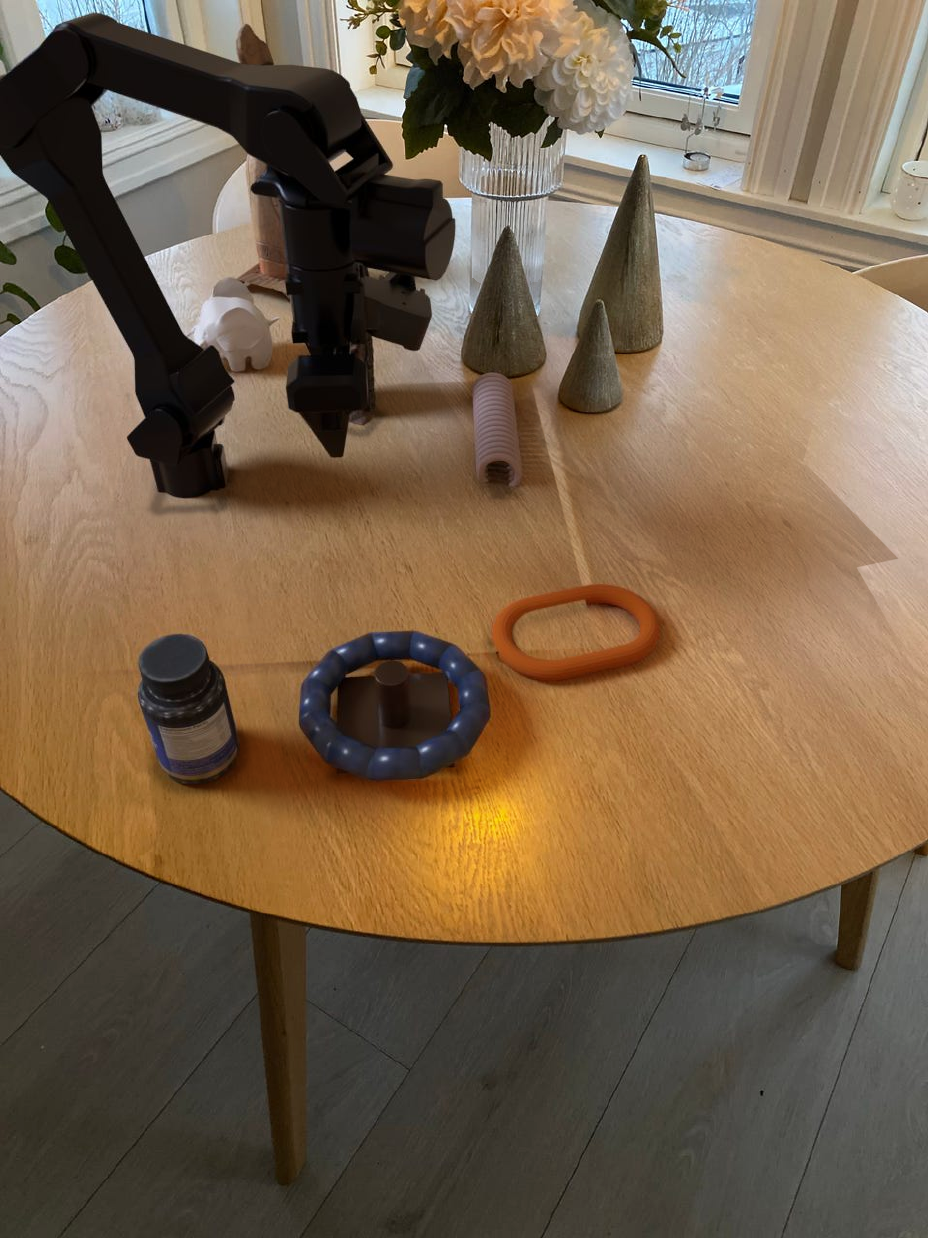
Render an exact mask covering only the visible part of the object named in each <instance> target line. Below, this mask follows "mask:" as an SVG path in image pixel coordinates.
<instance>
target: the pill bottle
mask: <svg viewBox="0 0 928 1238" xmlns="http://www.w3.org/2000/svg"><path fill="white" fill-rule="evenodd" d="M137 664H138V669H139V672H140V677H141V680H140V682H139V684H138V689H137V700H138V703H139V706H140V709H141V712H142V715H143V718H144V722H145V725H146V727H147V730H148V733H149V736H150V739H151V742H152V745H153V748H154V752H155V754H156V757H157V760H158V763H159V766H160V768H161V770H162V771H163V772H164V773H166V775H167V777H168V778H169V779H171V780H172V781H174V782H176V783H179V784H183V785H202V784H207V783H210V782H213V781H216V780H217V779H218V778H221V777H222V776H223V775H225V774H226V773H227V772H228V771H230V769H231V768H232V767H233V766H234V764H235V763H236V760H237V758H238V755H239V751H240V740H239V736H238V731H237V727H236V723H235V717H234V713H233V710H232V706H231V701H230V697H229V696H230V695H229V692H228V689H227V688H228V687H227V683H226V679H225V676H224V673H223V672H222V670H221V668H220V667H219V666H218V665H217V664H216V663H215V662H214V661H212V660H210V656H209V653H208V648H207V647H206V645H205V643H203V641H202V640H201V639H199V638H198V637H196V636H194V635H191V634H186V633H172V634H167V635H164V636H161V637H159V638H157V639H154V640H153V641H151V642H150V643H148V644H147V645H145V647H144V648H143V650H142V651H141V652H140V655H139V657H138V663H137Z"/></svg>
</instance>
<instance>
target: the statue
mask: <svg viewBox="0 0 928 1238" xmlns="http://www.w3.org/2000/svg"><path fill="white" fill-rule="evenodd" d="M369 272H370V271H369V268H366V267H365V266H364V276H368V277H371V276H370V273H369ZM373 341H374V339H373V336H371V335H370V334H368V333H367V344H361V345H352V346H351V354H355V355H357V356H358V357H359V358H360V359H361V360H363V361H364V362H365V363H366V364H367V377H368V407H366V408H364V409H362V410H359V411H354V412H352V413H351V414H350V418H349V423H352V424H354V425H357V426H364V425H365V424H366V423H367V421H369V419H370V418H371V416H372V415H373V414H374V412H376V411H377V410H376V409H378V404H377V402H376V401H377V396H376V392H375V390H376V389H375V383H376V382H375V381H376V380H375V365H374V363H375V358H374V353H375V351H374V345H373V343H374V342H373Z"/></svg>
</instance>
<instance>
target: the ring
mask: <svg viewBox="0 0 928 1238" xmlns="http://www.w3.org/2000/svg"><path fill="white" fill-rule="evenodd" d="M390 660H394V661H406V660H410V661H414V662H417V663H419V664H422V665H425V666H428V667H431V668H432V669H436V670H439V671H440V672H443V673H444V675H445V676H446V677H447V678H448V681H450V682H451V683H452V684H453V686H454V687H455V688H456V689H457V698H458V707H459V710H458V711H457V712H456V714H455V716H454V717H453V719H452V722H451V724H450V725H449V727H448V728H447V730H446V731H445V732H443V733H441V734H439V735H437V736H435V737H433V738H431V739H429V740H427V741H425V742H423V743H421V744H419V745H418V746H416V747H397V748H378V749H377V748H375V747H372V746H370V745H367V744H365V743H362V742H360V741H357V740H354V739H352V738H349V737H347V736H345V734H344V733H343V732H342V730H341V729H340V728H339V727H338V725H337V722H336V721H335V720H334V719H333V717H332V715H331V711H332V709H331V708H332V694H333V693H334V692H335V691H336V689H338V685H339V684H340V683H341V682H342V680H343V679H344V678H345V677H347V675H349V674H352V673H353V672H355V671H358V670H360V669H362V668H365V667H367V666H368V665H370V664H373V663H376V662H385V661H390ZM299 693H300V694H299V710H298V726H299V729H300V731H301V732H302V733H303V735H304V737H305V738H306V739H307V740H308V742H309V743H310V744H311V746H312V748H313V749H314V750H315V751H316V753H317V754H318V755H319V757H320V758H321V759H322V760H323V762H324V763H325V764H327V765H330V766H332V767H333V768H335V769H336V768H339V769H341V770H344V771H346V772H349V773H348V774H352V775H353V776H357V777H359V778H361V779H363V780H366V781H368V782H376V783H377V782H378V783H379V782H393V781H394V782H397V781H409V780H410V781H412V780H413V781H414V780H423V779H427V778H428V777H430V776H432V775H434V774H437V773H438V772H440V771H442V770H444V769H446V768H445V767H447V766H449V765H451V764H453V763H455V764H456V763H457V762H458V761H461V760H462V759H464V758H466V757H468V756H469V754H470V753H471V752H472V750H473V748H474V747H475V745H476V743H477V742H478V740H479V738H480V737H481V735H482V734H483V732H484V730H485V728H486V727H487V725H488V723H489V721H490V720H491V717H492V710H491V702H490V696H489V687H488V680H487V676H486V674H485V673H484V671H482V669H481V667H479V666H478V665H477V664H476V663H475V662H474V661H473V660H472V659H471V658H470V657H469V656H468V655H467V654H466V653H465V651H463V650H462V648H461V647H459V646H458V645H457V644H455V643H453V642H449V641H447V640H444V639H441V638H438V637H435V636H432V635H429V634H428V633H427V634H426V633H424V632H420V631H418V630H392V631H372V632H367V633H365V634H363V635H360V636H358V637H356V638H353V639H351V640H348V641H347V642H345V643H342V644H340V645H338V646H335V647H334V648H331V649H330V650H328V651H326V653H325V654H324V655H323V656H322V657H321V658H320V660H319V661H318V663H316V665H315V666H314V667H313V668H312V669H311V671H310V672H309V673H308V674H307V676H306V677H305V678H304V679H303V681H302V682H301V685H300V692H299Z"/></svg>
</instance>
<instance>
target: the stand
mask: <svg viewBox="0 0 928 1238" xmlns="http://www.w3.org/2000/svg"><path fill="white" fill-rule="evenodd" d="M373 674H374V675H359V676H345V678H344V679H343V680H342V682H341V683H340V684H339V685H338V687H337V692H336V693H337V695H336V696H337V698H336V699H337V702H336V724H337V725H338V727H339V728H340V729H341V730H342V732H343V733H344V734H345V736H347V737H349V738H352V739H354V740H357V741H360V742H362V743H365V744H367V745H370V746H372V747H375V748H377V749H378V748H397V747H416V746H418V745H419V744H421V743H423V742H425V741H427V740H429V739H431V738H433V737H435V736H437V735H439V734H441V733H443V732H445V731H446V730H447V728H448V727H449V725H450V724H451V722H452V721H453V719H452V710H451V699H450V698H451V697H450V687H449V679H448V678H447V677H446V676H445V675H444V673H443V672H442V671H440V672H421V673H410V672H409V668H408V666H407V665H406V664H405V663H404V662H402V661H400V660H388V661H382V662H381V663H379V664H378V665H377V666H376V668H375V669H374V672H373ZM455 767H456V762H455V763H453V764H451V765H449V766H447V767H445V768H444V769H447V768H448V769H449V768H451V769H452V768H455ZM335 769H336V774H337V775H341V774H350V773H349V772H346V771H344V770H341V769H339V768H336V767H335Z"/></svg>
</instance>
